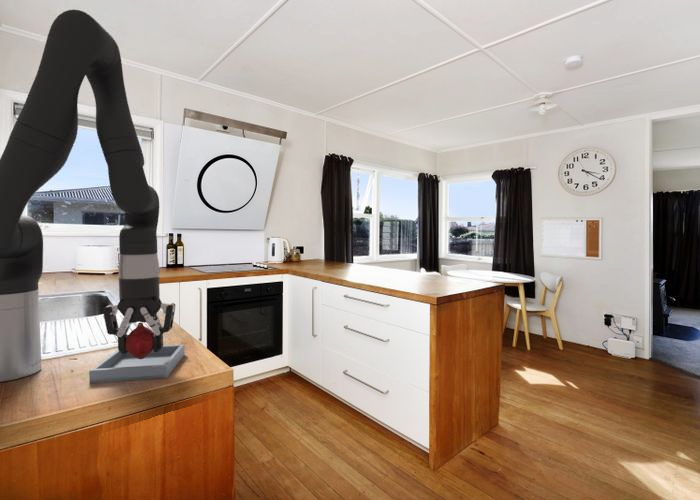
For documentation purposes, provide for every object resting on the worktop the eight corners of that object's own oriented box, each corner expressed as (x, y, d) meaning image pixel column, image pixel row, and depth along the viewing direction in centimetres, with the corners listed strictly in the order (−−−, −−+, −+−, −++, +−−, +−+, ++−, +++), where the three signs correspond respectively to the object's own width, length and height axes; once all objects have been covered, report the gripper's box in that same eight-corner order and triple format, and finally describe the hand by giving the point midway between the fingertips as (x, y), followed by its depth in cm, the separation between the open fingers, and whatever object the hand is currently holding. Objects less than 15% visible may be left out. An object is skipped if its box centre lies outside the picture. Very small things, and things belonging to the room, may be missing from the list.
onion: (160, 358, 79) (159, 322, 78) (131, 366, 75) (130, 327, 74) (150, 352, 83) (149, 318, 82) (122, 359, 78) (121, 323, 78)
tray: (89, 383, 71) (89, 370, 70) (120, 358, 84) (120, 347, 84) (166, 377, 73) (166, 365, 73) (184, 354, 87) (184, 344, 87)
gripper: (93, 277, 73) (95, 360, 74) (170, 276, 75) (171, 356, 76) (110, 273, 80) (112, 348, 81) (179, 272, 83) (181, 345, 84)
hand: (141, 351), depth 79 cm, fingers closed on onion, 5 cm apart
